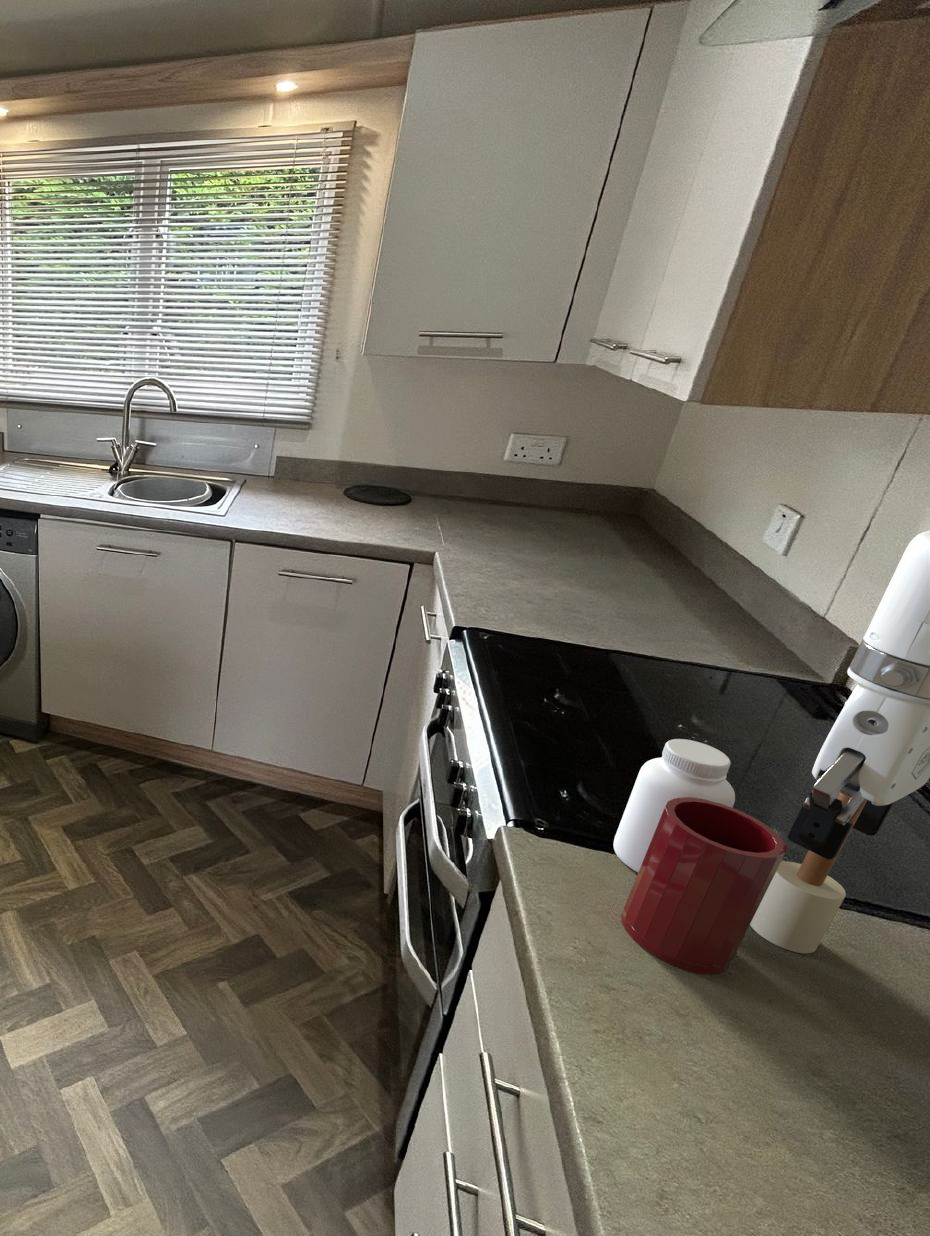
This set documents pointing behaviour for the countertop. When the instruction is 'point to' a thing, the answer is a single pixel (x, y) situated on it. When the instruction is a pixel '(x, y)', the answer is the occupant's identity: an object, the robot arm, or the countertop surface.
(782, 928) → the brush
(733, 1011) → the countertop surface
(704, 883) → the red faceted pen holder
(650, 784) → the pill bottle
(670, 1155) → the countertop surface
